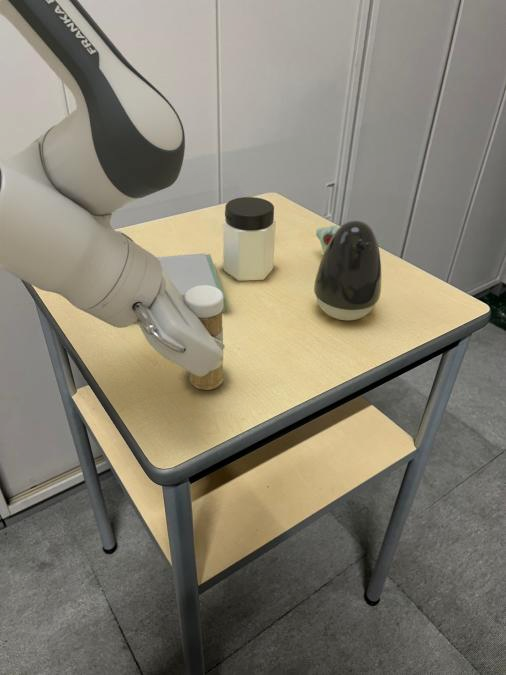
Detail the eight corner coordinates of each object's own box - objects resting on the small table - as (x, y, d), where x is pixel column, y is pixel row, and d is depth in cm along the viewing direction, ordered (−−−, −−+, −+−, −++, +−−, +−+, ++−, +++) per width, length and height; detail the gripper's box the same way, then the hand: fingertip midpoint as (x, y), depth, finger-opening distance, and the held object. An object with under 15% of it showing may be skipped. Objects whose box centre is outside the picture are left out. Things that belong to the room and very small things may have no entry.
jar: (237, 254, 97) (238, 192, 90) (278, 263, 95) (282, 200, 88) (216, 276, 90) (215, 211, 83) (259, 286, 88) (262, 220, 81)
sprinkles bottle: (198, 366, 71) (193, 280, 63) (229, 373, 70) (229, 287, 62) (183, 387, 67) (177, 299, 59) (216, 395, 66) (214, 307, 58)
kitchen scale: (128, 323, 78) (126, 305, 76) (125, 274, 90) (122, 257, 88) (226, 312, 81) (226, 295, 79) (210, 266, 93) (209, 249, 91)
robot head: (355, 261, 96) (360, 227, 92) (345, 270, 93) (350, 235, 89) (317, 249, 100) (321, 216, 96) (306, 257, 97) (310, 223, 93)
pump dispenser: (321, 332, 78) (333, 240, 69) (304, 296, 86) (313, 209, 77) (386, 327, 79) (406, 236, 70) (363, 292, 87) (378, 206, 78)
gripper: (174, 311, 47) (265, 365, 57) (115, 224, 62) (195, 278, 71) (131, 362, 48) (228, 406, 57) (84, 265, 63) (167, 313, 72)
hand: (209, 335), depth 64 cm, fingers closed on sprinkles bottle, 4 cm apart
